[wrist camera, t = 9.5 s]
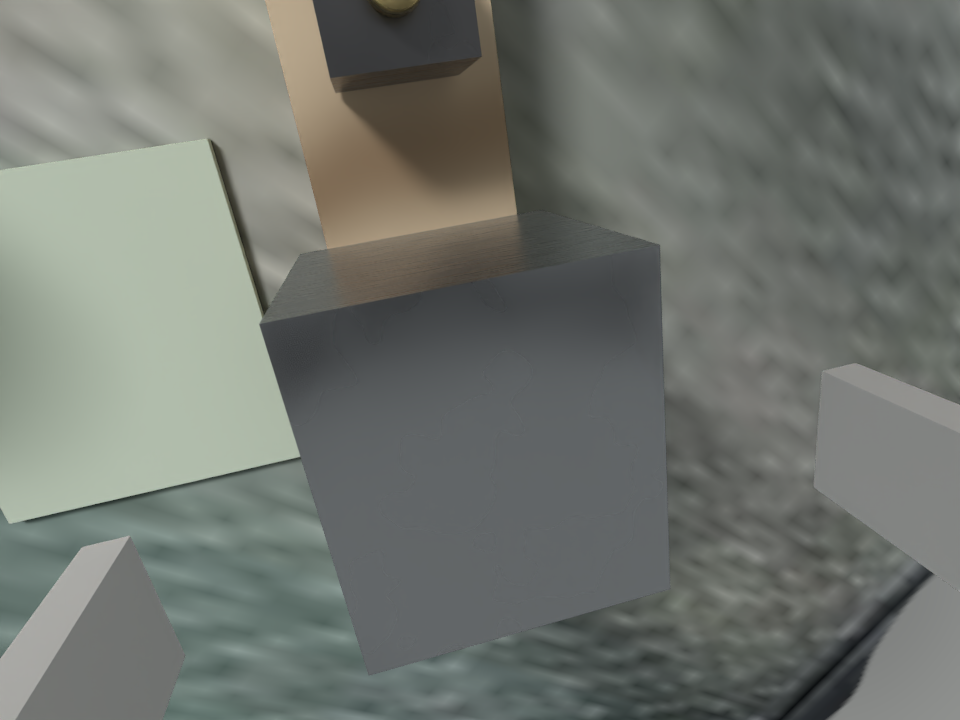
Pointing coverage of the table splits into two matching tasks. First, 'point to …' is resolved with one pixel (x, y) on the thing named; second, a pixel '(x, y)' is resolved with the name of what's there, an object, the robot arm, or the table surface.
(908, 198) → the table surface
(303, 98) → the long wooden block
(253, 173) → the table surface
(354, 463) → the gray cube on plate
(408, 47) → the latch
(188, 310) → the mat
